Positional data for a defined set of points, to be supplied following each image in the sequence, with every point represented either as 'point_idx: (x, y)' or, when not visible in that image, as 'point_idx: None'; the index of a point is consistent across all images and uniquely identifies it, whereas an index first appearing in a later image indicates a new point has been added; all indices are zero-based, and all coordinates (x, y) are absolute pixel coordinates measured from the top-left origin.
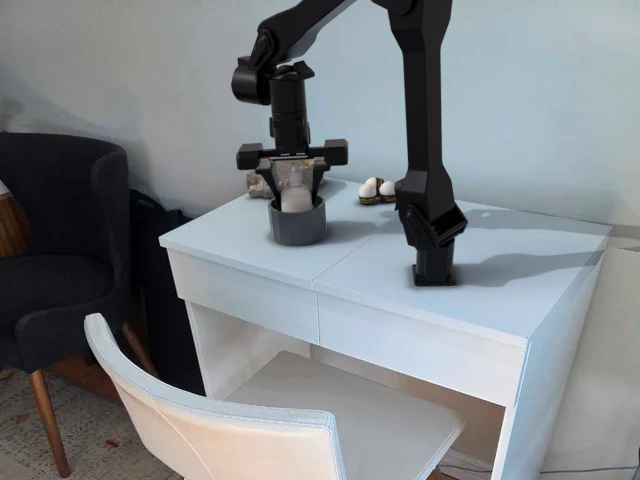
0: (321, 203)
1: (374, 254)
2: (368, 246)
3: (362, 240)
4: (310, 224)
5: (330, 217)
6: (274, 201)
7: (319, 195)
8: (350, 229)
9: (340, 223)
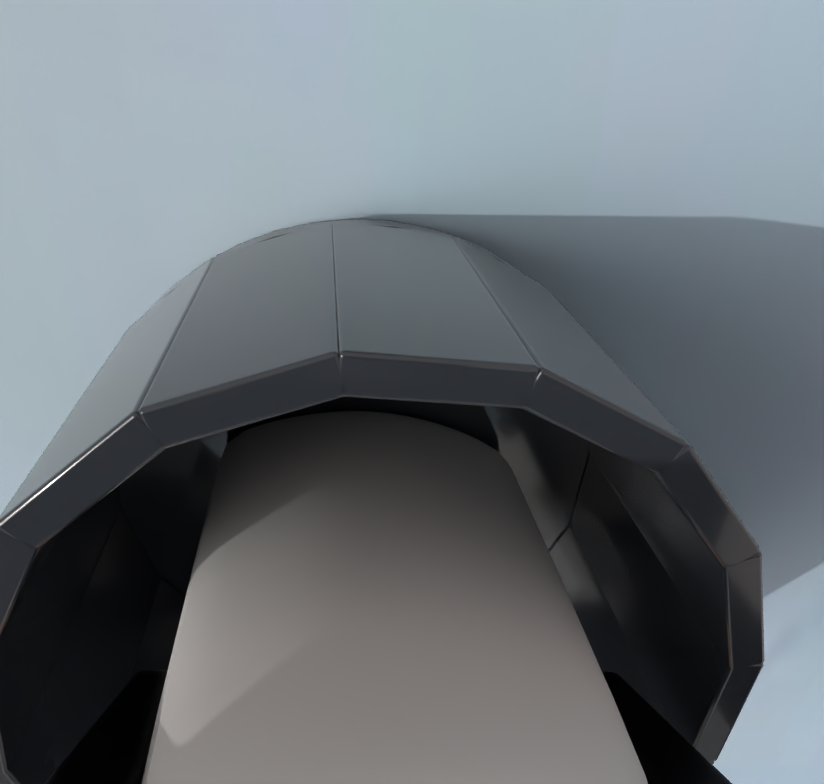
0: (688, 573)
1: (787, 751)
2: (798, 673)
3: (798, 601)
4: None
5: (716, 110)
6: (27, 584)
7: (729, 559)
8: (793, 427)
9: (760, 291)
